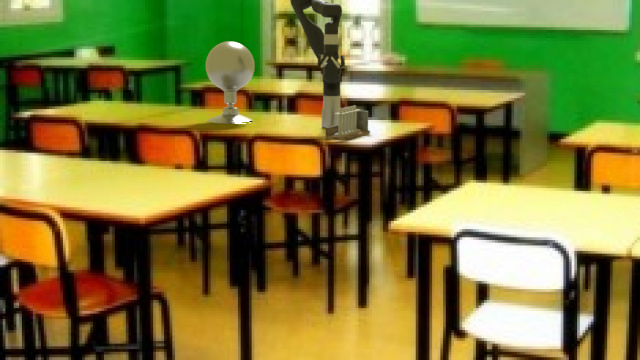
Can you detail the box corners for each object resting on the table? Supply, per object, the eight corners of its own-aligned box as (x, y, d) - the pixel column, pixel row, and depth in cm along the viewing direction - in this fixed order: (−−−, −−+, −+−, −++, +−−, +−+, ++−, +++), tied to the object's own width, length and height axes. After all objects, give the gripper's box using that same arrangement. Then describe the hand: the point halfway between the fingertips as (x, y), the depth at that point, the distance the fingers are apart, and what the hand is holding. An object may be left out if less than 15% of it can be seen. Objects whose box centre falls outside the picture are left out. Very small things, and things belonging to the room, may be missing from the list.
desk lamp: (203, 123, 564) (202, 42, 557) (209, 117, 592) (208, 40, 584) (252, 123, 564) (252, 42, 556) (256, 118, 591) (256, 40, 583)
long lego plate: (352, 130, 525) (353, 104, 522) (360, 130, 523) (361, 105, 521) (333, 135, 502) (334, 109, 500) (342, 136, 500) (342, 109, 498)
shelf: (325, 138, 501) (325, 115, 499) (348, 132, 529) (348, 110, 527) (348, 140, 496) (348, 116, 494) (369, 133, 524) (370, 111, 523)
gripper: (315, 43, 514) (315, 75, 516) (341, 43, 508) (341, 76, 511) (321, 42, 520) (321, 74, 523) (347, 43, 515) (346, 75, 518)
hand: (331, 75), depth 517 cm, fingers open, 8 cm apart
